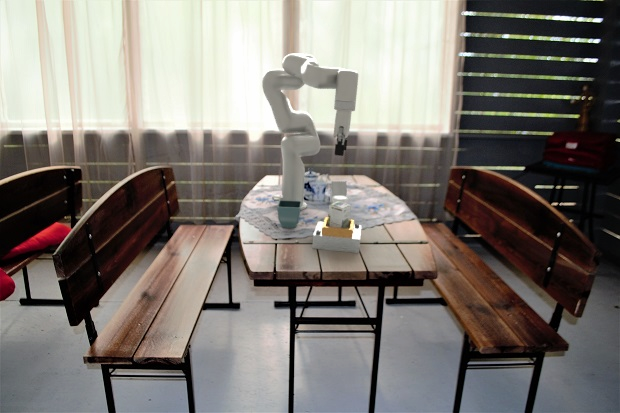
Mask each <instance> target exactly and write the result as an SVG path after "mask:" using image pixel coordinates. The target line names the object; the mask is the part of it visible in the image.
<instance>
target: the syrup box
mask: <svg viewBox="0 0 620 413" xmlns="http://www.w3.org/2000/svg"><path fill="white" fill-rule="evenodd" d="M351 206H352V204H349V203H348V204H347V203H344V202H338V201H337V202H335V203H333V204H331V203H330V204H329V205H328V215H327V216H328V226H327V227H338V228H349V221H350V218H351V208H352V207H351Z"/></svg>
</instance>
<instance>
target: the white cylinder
mask: <svg viewBox="0 0 620 413" xmlns="http://www.w3.org/2000/svg"><path fill="white" fill-rule="evenodd" d="M332 200H333V203H335V202H337V201H338V202H344V203H347V204H349V197H348V195H346V196H343V195H335V196H333V197H332Z"/></svg>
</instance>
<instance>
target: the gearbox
mask: <svg viewBox="0 0 620 413" xmlns="http://www.w3.org/2000/svg"><path fill="white" fill-rule="evenodd" d="M327 226H328V217H327V216H325V218H324V220H323V221H320V220H319V221H317V223H316V226H315V228H314V231H313V234H312V247H311V248H312V249H315V250H324V251H336V252H343V253H344V252H346V253H352V254H353V253H355V254H359V253H360V247H361V246H360V245H361V237H362V236H361V235H362V224H359V223H355V219H350V221H349V228H338V227H327Z"/></svg>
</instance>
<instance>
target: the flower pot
mask: <svg viewBox="0 0 620 413" xmlns="http://www.w3.org/2000/svg"><path fill="white" fill-rule="evenodd" d="M276 210H277V219H278V222H279V224H280V226H281V227H282V228H292V229H294V228H296V227H297V226H298V223H299V221H300V220H299V219H300V215H301V211H302V210H301V201H285V200H279V201H278V203H277V206H276Z"/></svg>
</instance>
